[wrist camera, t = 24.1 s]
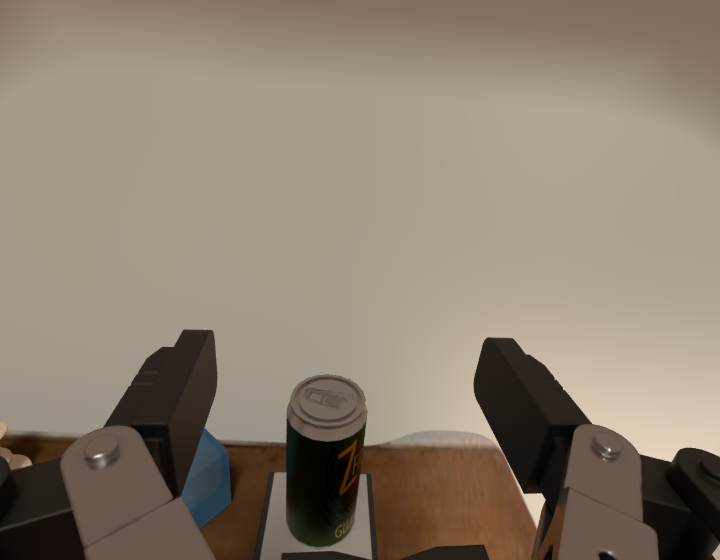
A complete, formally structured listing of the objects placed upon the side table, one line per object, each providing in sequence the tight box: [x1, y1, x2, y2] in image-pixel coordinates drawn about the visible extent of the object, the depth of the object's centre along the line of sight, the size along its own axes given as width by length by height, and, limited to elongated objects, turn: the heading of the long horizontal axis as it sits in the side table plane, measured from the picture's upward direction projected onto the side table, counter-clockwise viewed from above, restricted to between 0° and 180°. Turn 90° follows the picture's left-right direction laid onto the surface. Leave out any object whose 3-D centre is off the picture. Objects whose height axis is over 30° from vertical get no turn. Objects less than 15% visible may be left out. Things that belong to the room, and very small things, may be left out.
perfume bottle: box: [181, 428, 232, 530], centre depth 32 cm, size 6×6×12 cm
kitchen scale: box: [254, 472, 378, 560], centre depth 32 cm, size 9×9×3 cm
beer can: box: [286, 374, 368, 549], centre depth 29 cm, size 5×5×12 cm
